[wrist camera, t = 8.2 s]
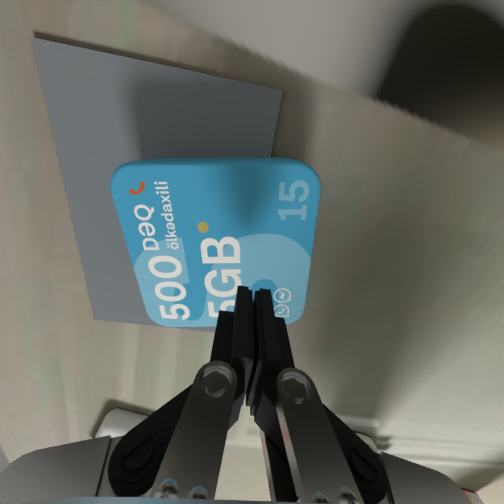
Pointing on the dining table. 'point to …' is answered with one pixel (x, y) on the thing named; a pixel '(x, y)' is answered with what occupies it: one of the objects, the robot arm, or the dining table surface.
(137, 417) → the icon
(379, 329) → the dining table surface
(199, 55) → the dining table surface
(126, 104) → the mat
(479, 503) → the cracker box
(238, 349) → the robot arm
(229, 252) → the data package
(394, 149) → the dining table surface
